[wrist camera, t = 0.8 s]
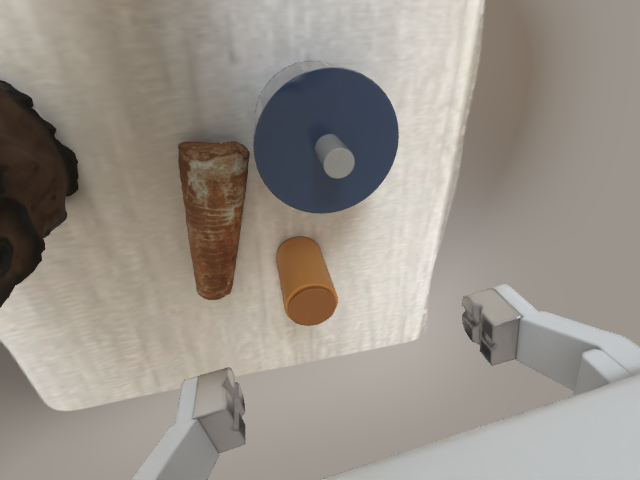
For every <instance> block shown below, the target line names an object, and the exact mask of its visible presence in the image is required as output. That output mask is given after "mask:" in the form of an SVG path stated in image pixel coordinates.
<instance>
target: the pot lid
mask: <svg viewBox="0 0 640 480" xmlns="http://www.w3.org/2000/svg"><path fill="white" fill-rule="evenodd" d="M397 147H398V123H397V118H396V114H395V111H394V109H393V106H392V104H391V102H390V100H389V99H388V97H387V96H386V94H385V93H384V92H383V90H382V89H381V88H380V87H379V86H378V85H377V84H376V83H374V82H373V81H372V80H371V79H369V78H368V77H366V76H364V75H363V74H361V73H358V72H356V71H354V70H350V69H347V68H343V67H334V66H330V67H319V68H313V69H310V70H307V71H304V72H301V73H299V74H297V75H295V76H293V77H292V78H290V79H289V80H287V81H286V82H284V83H283V84H282V85H281V86H280V87H279V88H278V89H276V90H275V91H274V93H273V94H272V95H271V96H270V97H269V99H268V100H267V102H266V103H265V105H264V107H263V108H262V111H261V113H260V115H259V117H258V120H257V124H256V127H255V133H254V156H255V161H256V165H257V169H258V171H259V174H260V176H261V178H262V180H263V181H264V183H265V185H266V186H267V187H268V189H269V190H270V191H271V192H272V193H273V194H274V195H275V196H276V197H277V198H278V199H280V200H281V201H282V202H284V203H285V204H287V205H289V206H291V207H293V208H296V209H298V210H301V211H305V212H310V213H332V212H337V211H341V210H344V209H347V208H350V207H352V206H354V205H356V204H358V203H359V202H361V201H362V200H364V199H365V198H367V197H368V196H369V195H371V194H372V193H373V192H374V191H375V190H376V189H377V188H378V187H379V185H380V184H381V183H382V182H383V180H384V179H385V177H386V176H387V174H388V173H389V171H390V169H391V167H392V164H393V162H394V159H395V156H396V152H397Z"/></svg>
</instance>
